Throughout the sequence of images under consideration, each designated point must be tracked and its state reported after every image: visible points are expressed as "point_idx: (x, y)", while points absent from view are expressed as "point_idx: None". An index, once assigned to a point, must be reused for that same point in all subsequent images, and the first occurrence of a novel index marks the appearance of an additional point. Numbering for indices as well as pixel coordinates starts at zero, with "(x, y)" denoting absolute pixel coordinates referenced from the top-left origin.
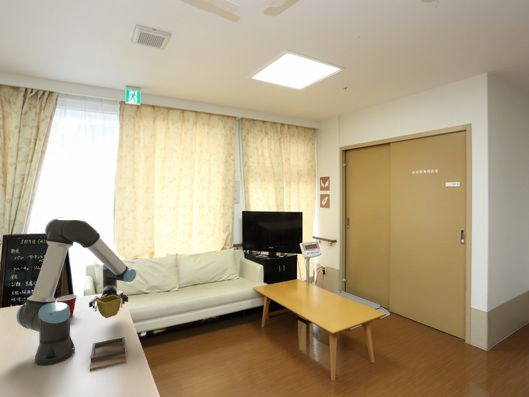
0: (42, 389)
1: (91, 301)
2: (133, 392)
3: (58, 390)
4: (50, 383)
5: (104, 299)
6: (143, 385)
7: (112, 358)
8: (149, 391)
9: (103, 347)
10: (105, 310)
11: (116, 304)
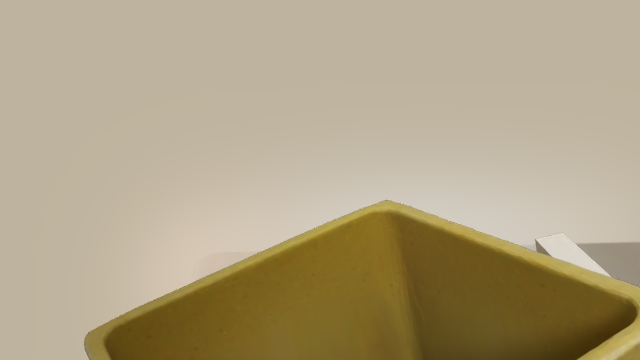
0: (620, 252)
1: None
2: (254, 251)
3: (536, 250)
4: (614, 274)
5: None
6: (218, 270)
7: None
8: (206, 255)
9: None
10: (396, 325)
11: None
